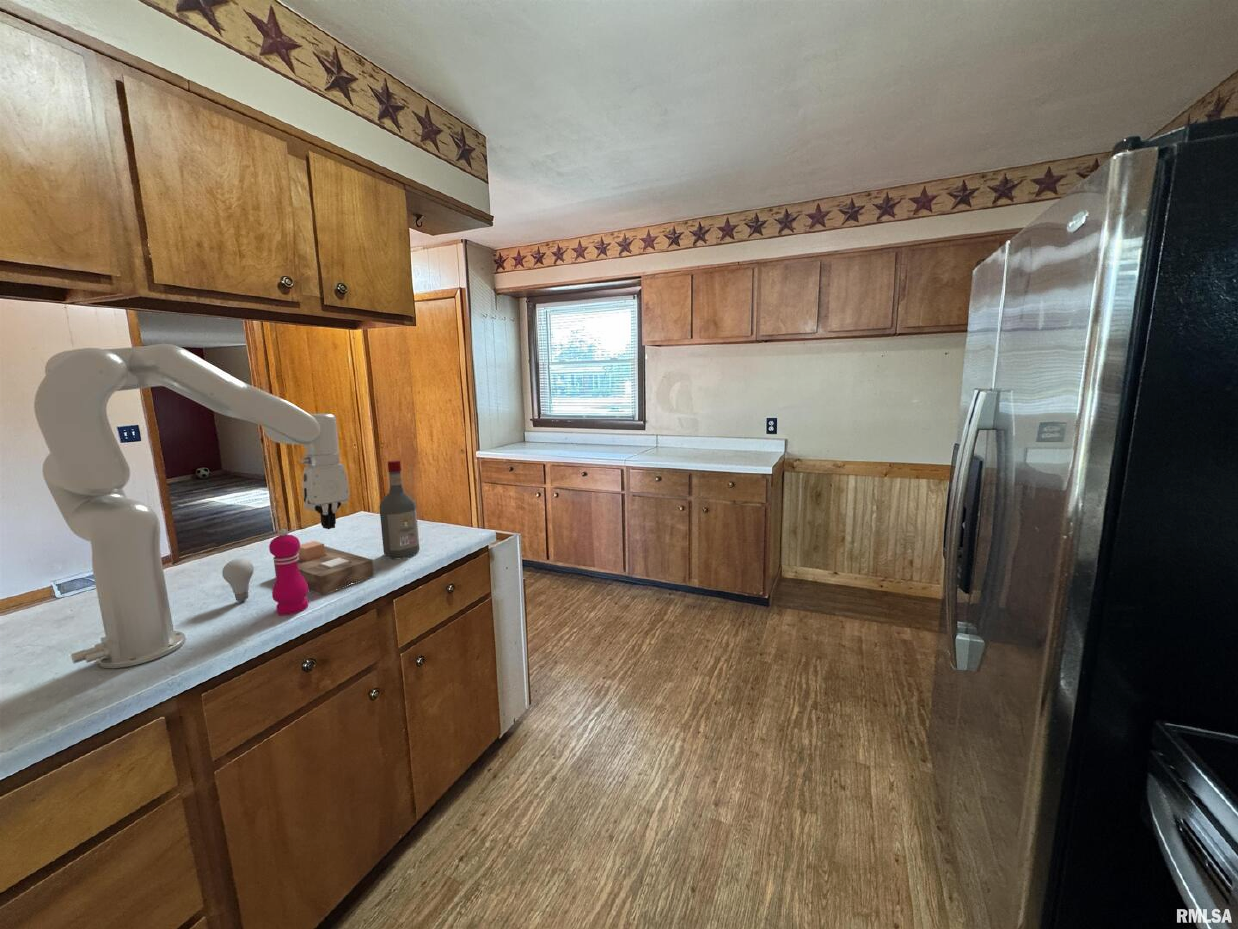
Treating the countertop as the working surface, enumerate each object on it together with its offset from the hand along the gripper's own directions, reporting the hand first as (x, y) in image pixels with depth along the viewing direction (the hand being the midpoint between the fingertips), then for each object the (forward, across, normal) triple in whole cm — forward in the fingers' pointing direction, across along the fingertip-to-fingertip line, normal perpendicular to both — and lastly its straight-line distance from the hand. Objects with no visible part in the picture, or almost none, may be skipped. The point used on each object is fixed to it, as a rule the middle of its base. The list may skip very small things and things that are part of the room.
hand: (328, 527), depth 130 cm
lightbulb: (+16, -18, +8) cm, 25 cm away
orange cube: (+12, +1, +12) cm, 17 cm away
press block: (+15, +1, +6) cm, 16 cm away
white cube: (+15, +1, 0) cm, 15 cm away
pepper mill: (+16, -14, -8) cm, 23 cm away
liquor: (+15, +24, +4) cm, 28 cm away
